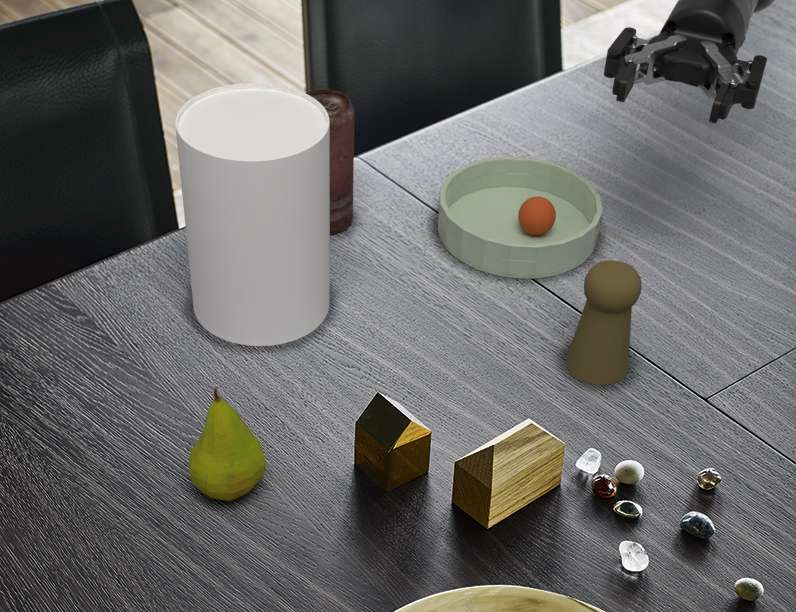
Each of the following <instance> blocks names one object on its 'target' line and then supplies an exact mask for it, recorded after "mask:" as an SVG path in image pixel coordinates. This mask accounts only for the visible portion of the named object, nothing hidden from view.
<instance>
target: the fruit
mask: <svg viewBox="0 0 796 612" xmlns="http://www.w3.org/2000/svg"><path fill="white" fill-rule="evenodd" d="M213 397H214V398H213V400H212V402H211V404H210V405H209V406H208V409H207V411H206V416H205V422H204V428H203V430H202V432H201V434H200V437H199V439H198V440H197V442H195V444H193V447H191V449H190V451H189V456H188V469H189V470H188V473H189V477H190V482H191V484H192V485H193V486H194V487H195V489H197V490H198V491H200V492H202V493H203V494H205V495H206V496H207V497H209V498H211V499H216V500H220V501H221V500H222V501H227V502H231V501H234V500H236V499H239V498H240V497H242V496H244V495H247V494H248V493H249V492H250V491H251V490H252V489H253V488H254V487H255V486H256V485H257V484H258V483H259V482H260V481H261V479H262V478H264V475H265V474H266V469H267V468H266V467H267V460H266V457H265V454H264V453H265V452H264V450H263V448H262V447H263V446H262V444H261V442H260V440H259V439H258V438H257V436H256V435H255V434H254V433H253V431H252V430H251V429H250V428H249V426H248V425H247V423H245V421H244V420H243V419H242V418H241V416H240V415H239V413H238V412H237V411H236V410H235V409H234V408H233V406H231V404H229V403H228V402H226V400H225V399H223V397H222V396H221V395H218V388H217V386H215V387H214V388H213Z"/></svg>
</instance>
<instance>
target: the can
mask: <svg viewBox="0 0 796 612" xmlns="http://www.w3.org/2000/svg"><path fill="white" fill-rule="evenodd" d="M305 93H306V94H308V95H309V96H311V97H313V98H314V99H316V100H317V101H318V102H319V103H321V104H322V106H323V107H324V108H325V109H326V111H327V113H328V116H329V214H330V236H332V235H336V234H337V235H338V234H340V233H341V232H344V231H345V230H347V228H348V227H349V226H350V224H351V223H352V222H353V217H354V168H355V166H354V165H355V109H354V106H353V104H352V102H351V99H350V98H349V97H348V95H346V94H344V93H342V92H340V91H338V90H337V91H336V90H333V89H325V88H324V89H314V90H309V91H307V92H305Z"/></svg>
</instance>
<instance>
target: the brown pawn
mask: <svg viewBox="0 0 796 612" xmlns="http://www.w3.org/2000/svg"><path fill="white" fill-rule="evenodd" d="M642 287H643V286H642V278H641V276H640V274H639V271H637V269H636V268H635V267H634V266H632V265H630V264H628V263H626V262H623V261H620V260H611V259H610V260H602V261H599V262H597V263H595V264H594V265H593V266H591V267H590V269H588V271H587V273H586V275H585V277H584V281H583V292H584V293H583V294H584V296H585V298H586V301H585V303H584V306H583V309H582V312H581V315H580V317H579V320H578V322H577V326H576V329H575V331H574V334H573V338H572V340H571V343H570V346H569V349H568V351H567V354H566V358H565V366H566V368H567V370H568V372H569V373H570V374H571V375H572V376H573V377H574V378H576V379H578V380H580V381H581V382H583V383H586V384H590V385H597V386H609V385H613V384H616V383H619V382H621V381H622V380H623V379H624V378H625V377H626V376H627V374H628V372H629V364H630V349H631V348H630V347H631V346H630V344H631V329H632V309H633V306H635V305H636V304H637V301H638V300H639V298H640V296H641V293H642V289H643V288H642Z"/></svg>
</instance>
